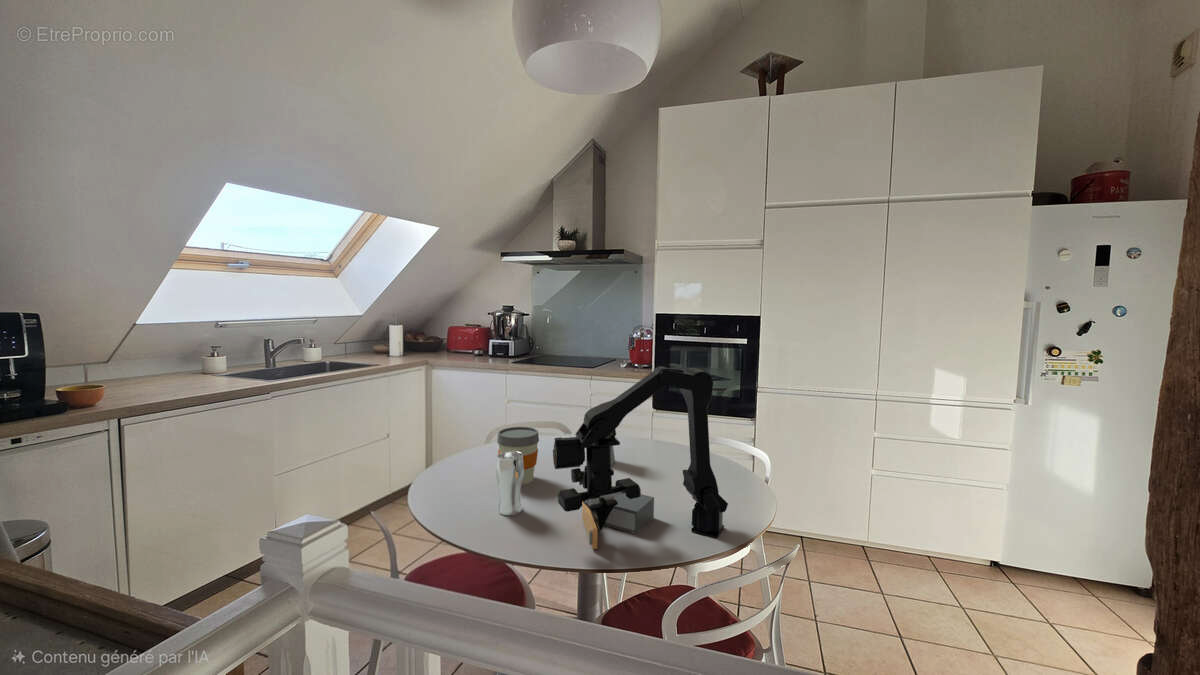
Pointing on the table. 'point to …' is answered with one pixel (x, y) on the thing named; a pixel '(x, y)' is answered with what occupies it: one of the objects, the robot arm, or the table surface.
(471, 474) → the table surface
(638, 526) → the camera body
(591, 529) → the side door
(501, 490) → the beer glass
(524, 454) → the reusable coffee cup
